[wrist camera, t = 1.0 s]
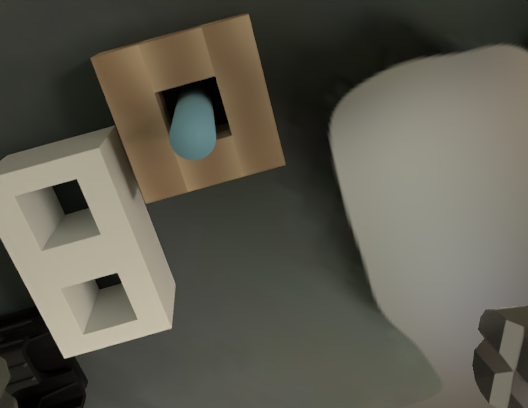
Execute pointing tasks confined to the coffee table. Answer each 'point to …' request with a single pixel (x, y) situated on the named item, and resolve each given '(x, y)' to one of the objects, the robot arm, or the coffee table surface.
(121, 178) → the white cinder block
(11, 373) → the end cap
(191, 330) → the coffee table surface
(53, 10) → the coffee table surface
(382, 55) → the coffee table surface
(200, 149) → the pin
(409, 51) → the coffee table surface
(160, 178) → the mount block
